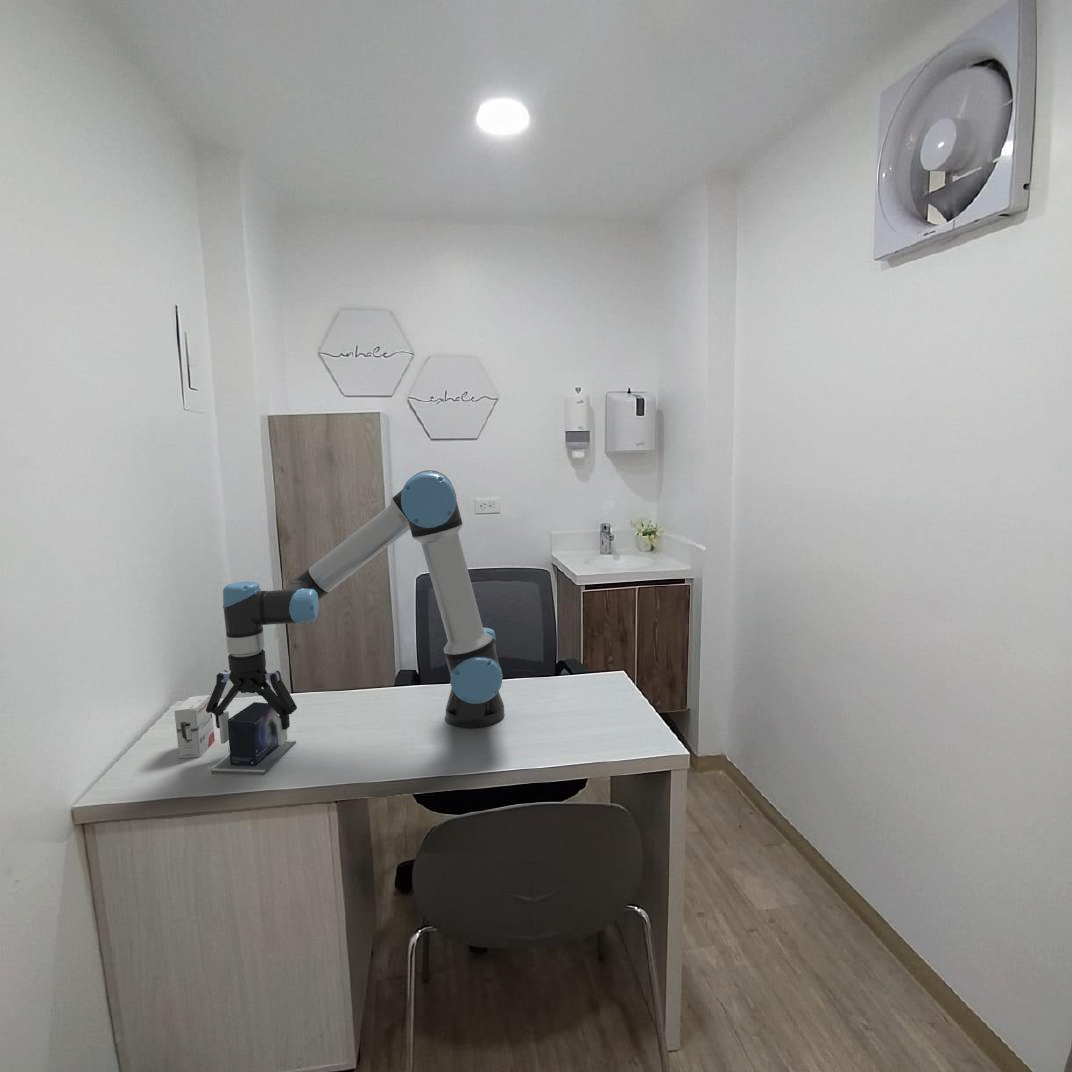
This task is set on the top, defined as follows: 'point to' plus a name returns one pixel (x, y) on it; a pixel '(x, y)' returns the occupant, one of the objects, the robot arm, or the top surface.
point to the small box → (252, 734)
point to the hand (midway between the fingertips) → (254, 741)
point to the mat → (259, 768)
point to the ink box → (194, 727)
